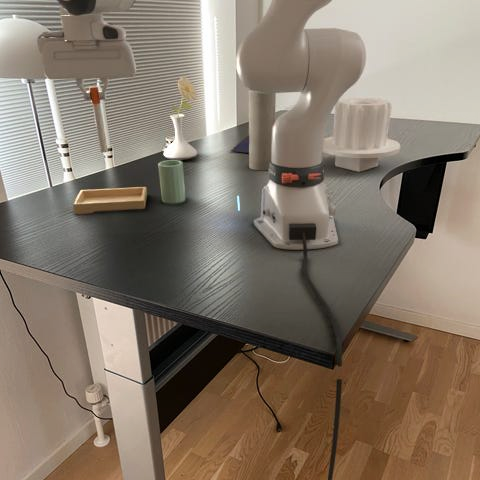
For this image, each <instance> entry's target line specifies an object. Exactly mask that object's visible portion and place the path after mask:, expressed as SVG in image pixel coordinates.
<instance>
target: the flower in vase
mask: <svg viewBox="0 0 480 480" xmlns="http://www.w3.org/2000/svg"><path fill="white" fill-rule="evenodd" d="M177 87H178V90H179V94H180V95H181V101H180V106H179V107H178V106H175V105H174V104H171V107H170V108H171V110H173V111H176V112H178V113H175V114H170V115H169V117H170V118H171V120H172V123H173V126H174V134H175V135H174V140H173V141H172V143H170V144H169V145H168V146H167V147H166V148H165V149H164V151H163V156H164V157H165V158H166V159H167V160H178V161H185V160H186V161H187V160H190V159H192V158H195V157H196V156H197V154H198V152H197V149H196V148H194V146H193V145H191V144H190V143H188V142H187V141H186V140H185V138H184V137H183V122H184V121H183V120H184V118H185V117H186V116H185V115H186V114H182V113H180V112H181V110H182V109H184V110H185V111H189V110H190V109H192V105H191V104H190V103H189V102H193V103H194V101H195V100H196V99H197V97H198V95H197V93H198V92H197V90H196V87H195V86H194V83H193V82H191V80H190V79H189V78H188V77H186V76H185V77H184V76H181V77H180V78H179V80H177ZM183 100H186V101H184V102H183ZM187 101H188V102H187Z"/></svg>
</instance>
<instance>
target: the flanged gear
mask: <svg viewBox="0 0 480 480" xmlns="http://www.w3.org/2000/svg"><path fill="white" fill-rule="evenodd" d="M392 107H393V106H392V103H391V102H390V101H389V100H386V99H381V98H372V97H371V98H369V97H353V98H352V97H351V98H343V99H340V100H338V101H337V103H336V105H335V106H334V115H333V116H334V117H333V127H332V136H329V137H324V143H323V153H324V154H328V155H331V156H335V158H334V167H337V168H341V169H346V170H349V171H354V172H359V173H360V172H364V171H367V170H370V169H373V168H376V167H378V166H379V161H380V158H386V157H390V156H391V157H392V156H394V155H397V154H398V153H399V152H400V151H401V144H400V142H398V141H396V140H394V139H391V138H388V136H389V135H388V134H389V128H390V122H391V113H392Z"/></svg>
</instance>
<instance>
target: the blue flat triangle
mask: <svg viewBox="0 0 480 480" xmlns="http://www.w3.org/2000/svg"><path fill="white" fill-rule="evenodd" d="M230 152H234V153H235V152H237V153H248V154H249V135H248V136H246V137H245V138H244V139H242V140H241V141H240V142H239V143H237V144H236V145H235V146H234V147H233V148H232V149H231V150H230Z"/></svg>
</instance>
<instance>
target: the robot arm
mask: <svg viewBox="0 0 480 480" xmlns="http://www.w3.org/2000/svg"><path fill="white" fill-rule="evenodd" d="M56 1H57V3H58V4H59V15H60V21H61V27H62V31H61V30H60V31H43V32H42V33H41V34H39V35H38V37H37V39H36V42H37V47H38V51H39V53H40V54H41V60H42V61H41V62H42V69H43V70H42V71H43V74H44V76H45V77H46V78H47V80H49V81H54V80H59V81H60V80H75V83H76V86H77V88H78V89H79V90H80V91H81V93H82V94H83V99H84V101H85V102H87V101H90V102H91V95H90V90H87V89H86V88H85V86H84V85H83V84H85V79H86V80H87V79H90V80H91V79H92V80H93V79H100V81H101V84H103V87H102V90H99V92H98V95H99V100H100V101H106V100H107V90H108V86H109V84H110V80H109V79H120V78H121V79H122V78H124V79H125V78H126V79H127V78H134V77H135V76H136V75H137V65H136V60H135V55H134V52H133V49H132V46H131V44H130V43H129V42H128V41H127V40H126V38H127V31H126V29H125V27H121V26H119V25H116V24H114V23H111V22H106V21H105V20H104V13H105V14H107V13H120V12H124V11H128V10H130V9H131V8H132V7H133V6H134V4H135V3H136V0H56ZM332 1H333V0H271V1H270V5H269V7H268V9H267V10H266V13H265V14H264V16H263V18H261V20H260V21H259V23H258V24H257V25H256V26H255V27H254V28H253V29H252V30H251V31H250V32H249V33H247V34H246V35H245V36H244V37H243V39H242V40H241V42H240V44H239V46H238V48H237V50H236V56H235V67H236V73H237V75H238V78H239V80H240V82H241V84H242V85H243V87H245V88H246V89H247V90H254V91H258V92H264V93H276V94H283V93H284V94H285V93H286V94H287V93H300V96H299V98H298V101H297V102H296V103H295V105H294V106H293V107H291V108H290V109H289V110H287V111H285V112H284V113H282V114H281V115H279V117H277V118H276V119H275V123H274V125H273V127H272V152H271V161H270V162H269V170H268V178H269V180H268V181H267V183H266V184H265V185H264V186H263V188H262V189H261V205H260V217H257V218H255V219H253V226H254V227H255V228H256V229H257V230H258V231H259V233H261V234H262V236H263V237H265V239H266V240H267V241H268V242H269V243H270V245H272V246H273V247H274V248H276V249H281V250H290V251H291V250H293V251H295V250H296V251H299V250H300V251H301V250H303V264H302V272H303V273H302V274H303V276H304V279H305V280H306V282H307V284H308V286H309V288H310V289H311V290H312V292H313V294H314V296H315V297H316V299H317V300H318V302H319V303H320V304H321V306H322V307H323V308H324V310H325V312H326V314H327V316H328V318H329V320H330V323H331V326H332V329H333V333H334V338H335V341H336V366H337V367H339V368H340V367H342V366H343V345H342V339H341V334H340V329H339V326H338V323H337V321H336V318H335V316H334V313H333V312H332V310H331V308H330V307H329V305H328V303H327V302H326V301H325V299H324V298H323V297H322V295H321V294H320V292H319V290H318V289H317V288H316V286H315V285H314V283H313V281H312V280H311V278H310V276H309V274H308V250H316V249H317V250H319V249H324V248H329V247H333V246H336V245H338V244H339V237H338V233H337V229H336V223H335V219H334V216H336V205H334V204H329V202H330V201H331V198H332V197H331V194H328V193H327V185H326V182H324V180H325V176H324V175H325V166H324V165H325V164H324V161H323V153H324V152H323V143H324V139H325V137H326V136H325V135H326V129H327V125H328V122H329V119H330V116H331V114H332V112H333V110H334V109H335V105H336V103H337V102H338V101H340V100H341V98H342V97H343V96H344V94H345V93H346V92H348V90H349V89H350V88H352V87H353V86H354V85H355V84H356V83H357V82H358V81H359V79H360V78H361V76H362V74H363V72H364V70H365V67H366V62H367V51H366V45H365V43H364V41H363V39H362V37H361V35H360V34H358V32H354V31H350V30H346V29H341V28H335V27H331V28H329V27H327V28H322V27H321V28H305V27H306V25H307V23H308V21H309V20H310V18H311V17H312V16H313V15H314V14H315V13H316V12H317V11H319V10H321V9H323V8H324V7H326V6H328V5H329V4H330V3H331V2H332ZM236 198H237V211H239V212H240V211H241V210H240V208H241V207H240V206H241V205H240V196H239V195H237V197H236ZM342 384H343V379H342V378H340V379H336V389H335V405H334V417H333V418H334V419H333V430H332V441H331V449H330V450H331V451H330V457H329V458H330V459H329V466H328V473H327V480H333V477H334V470H335V463H336V456H337V446H338V439H339V438H338V437H339V428H340V414H341V403H342V386H343V385H342Z"/></svg>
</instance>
